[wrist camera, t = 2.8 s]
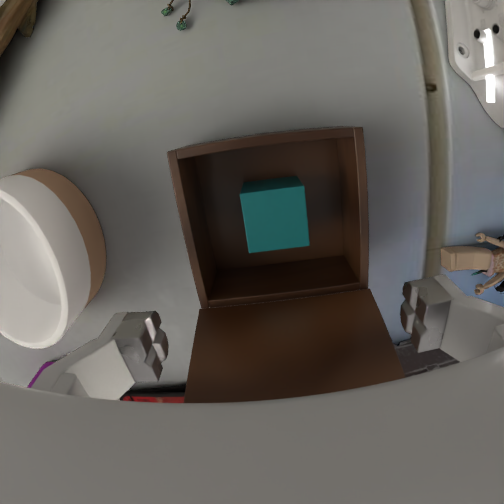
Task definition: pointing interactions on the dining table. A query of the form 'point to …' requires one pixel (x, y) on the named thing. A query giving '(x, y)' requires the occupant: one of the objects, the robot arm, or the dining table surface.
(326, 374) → the chest lid
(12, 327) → the bowl
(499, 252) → the toy figure
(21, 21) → the fish
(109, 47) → the dining table surface
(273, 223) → the cube
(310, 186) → the chest
